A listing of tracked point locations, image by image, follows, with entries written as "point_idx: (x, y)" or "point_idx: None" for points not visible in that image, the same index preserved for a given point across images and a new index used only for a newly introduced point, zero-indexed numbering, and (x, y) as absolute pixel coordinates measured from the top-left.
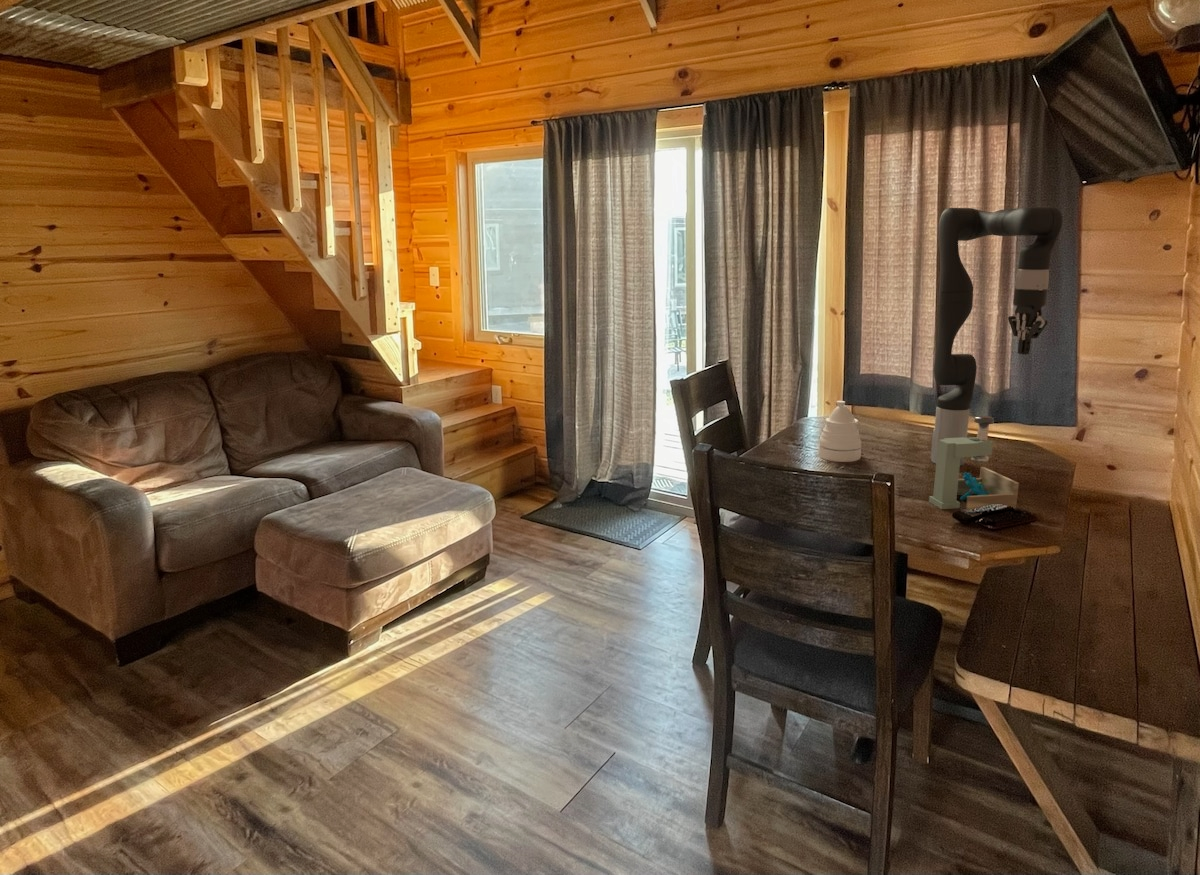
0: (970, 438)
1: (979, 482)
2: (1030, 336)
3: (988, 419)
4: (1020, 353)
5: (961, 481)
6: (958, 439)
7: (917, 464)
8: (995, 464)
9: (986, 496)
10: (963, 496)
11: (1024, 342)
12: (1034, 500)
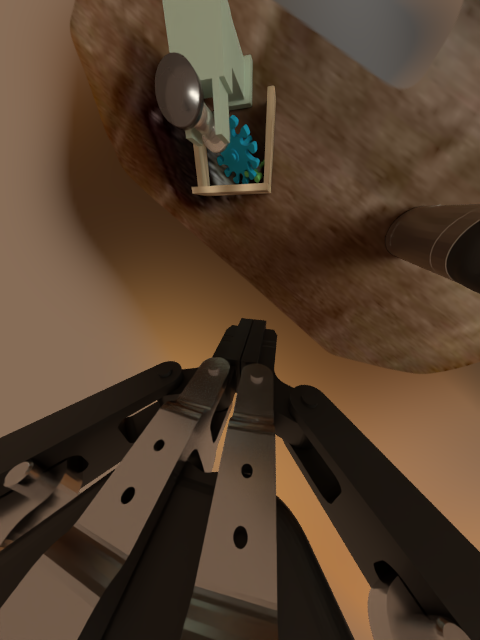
0: (213, 89)
1: (257, 176)
2: (146, 372)
3: (155, 90)
4: (249, 319)
5: (265, 143)
6: (205, 35)
7: (440, 168)
8: (364, 291)
9: None
10: (246, 138)
11: (224, 356)
12: (235, 243)
